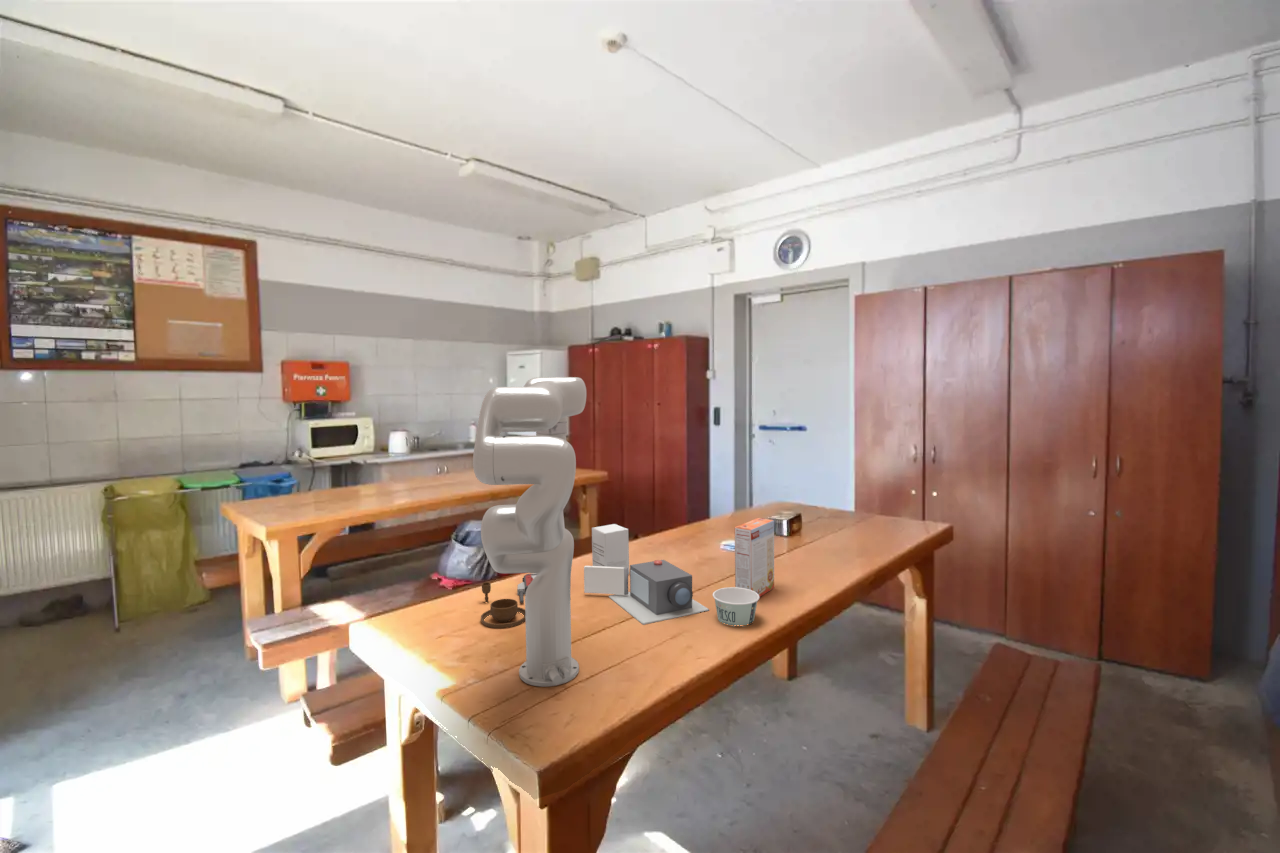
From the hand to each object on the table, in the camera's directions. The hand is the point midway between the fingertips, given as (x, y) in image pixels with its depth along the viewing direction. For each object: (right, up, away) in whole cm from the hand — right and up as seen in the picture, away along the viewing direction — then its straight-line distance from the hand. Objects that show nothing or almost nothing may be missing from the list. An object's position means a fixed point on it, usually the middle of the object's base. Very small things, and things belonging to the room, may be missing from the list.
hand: (553, 503), depth 145 cm
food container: (+46, -32, +9) cm, 57 cm away
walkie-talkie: (-11, -31, +30) cm, 44 cm away
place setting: (-15, -32, +14) cm, 38 cm away
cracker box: (+55, -30, +27) cm, 68 cm away
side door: (+12, -29, +26) cm, 40 cm away
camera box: (+27, -30, +20) cm, 46 cm away
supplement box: (+12, -29, +46) cm, 56 cm away
